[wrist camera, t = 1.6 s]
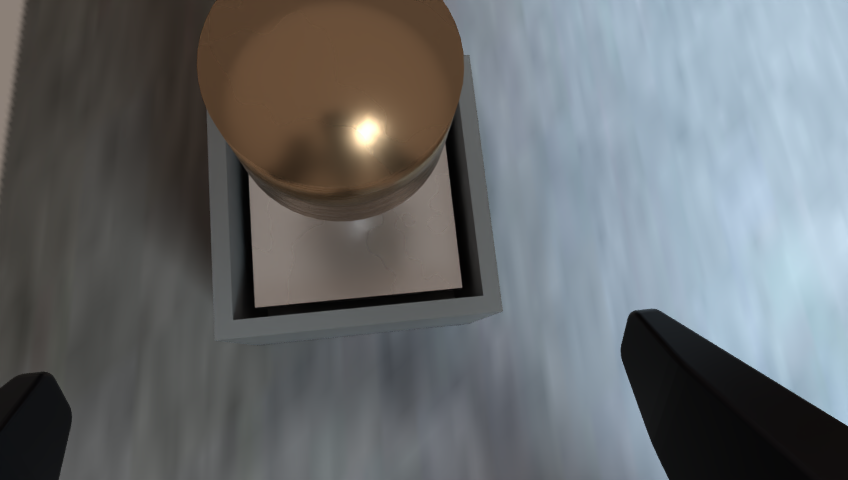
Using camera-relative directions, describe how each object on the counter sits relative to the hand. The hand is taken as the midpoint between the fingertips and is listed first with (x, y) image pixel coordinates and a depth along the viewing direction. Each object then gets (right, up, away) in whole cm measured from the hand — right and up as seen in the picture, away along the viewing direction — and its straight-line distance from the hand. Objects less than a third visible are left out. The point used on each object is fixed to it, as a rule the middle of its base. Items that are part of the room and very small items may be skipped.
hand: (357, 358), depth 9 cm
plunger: (-1, +3, +9) cm, 10 cm away
